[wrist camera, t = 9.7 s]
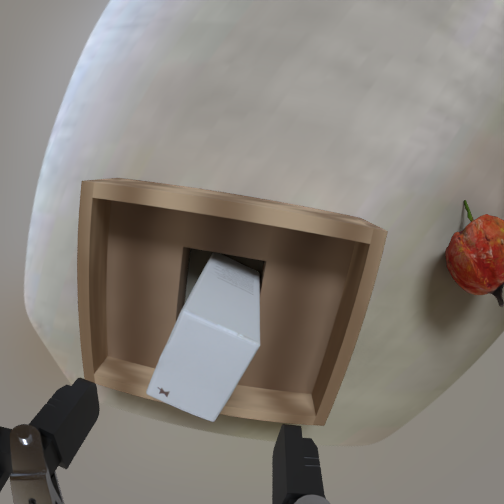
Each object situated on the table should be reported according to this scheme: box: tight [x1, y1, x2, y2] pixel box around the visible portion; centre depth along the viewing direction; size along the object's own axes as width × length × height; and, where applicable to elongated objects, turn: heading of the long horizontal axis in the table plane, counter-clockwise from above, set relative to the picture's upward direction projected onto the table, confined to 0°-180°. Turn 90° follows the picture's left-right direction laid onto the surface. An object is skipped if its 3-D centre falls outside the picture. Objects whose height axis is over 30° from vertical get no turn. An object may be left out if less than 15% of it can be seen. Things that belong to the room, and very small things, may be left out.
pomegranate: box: [445, 200, 504, 307], centre depth 22 cm, size 7×7×10 cm
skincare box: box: [146, 252, 260, 422], centre depth 21 cm, size 6×4×12 cm
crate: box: [77, 178, 388, 426], centre depth 24 cm, size 20×16×6 cm
